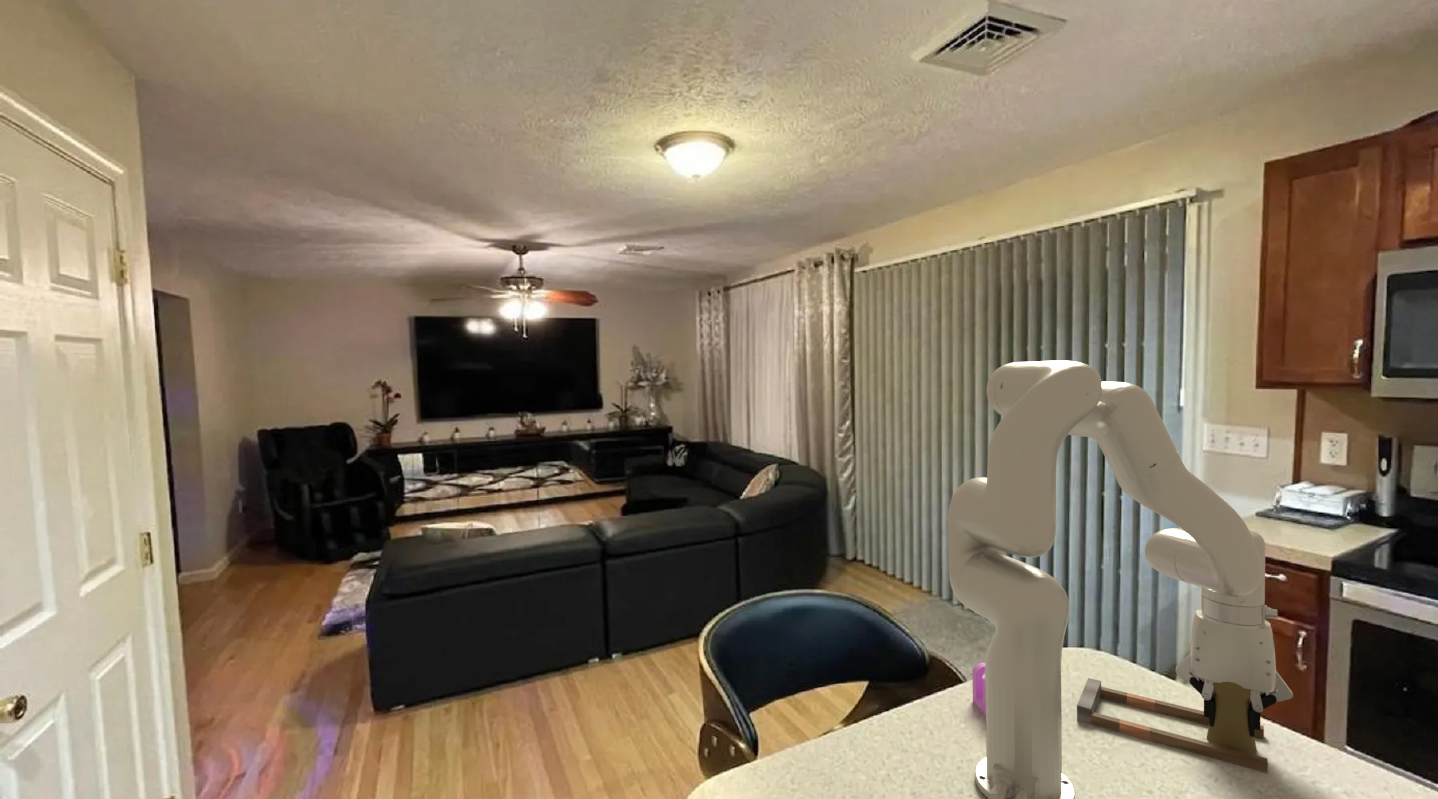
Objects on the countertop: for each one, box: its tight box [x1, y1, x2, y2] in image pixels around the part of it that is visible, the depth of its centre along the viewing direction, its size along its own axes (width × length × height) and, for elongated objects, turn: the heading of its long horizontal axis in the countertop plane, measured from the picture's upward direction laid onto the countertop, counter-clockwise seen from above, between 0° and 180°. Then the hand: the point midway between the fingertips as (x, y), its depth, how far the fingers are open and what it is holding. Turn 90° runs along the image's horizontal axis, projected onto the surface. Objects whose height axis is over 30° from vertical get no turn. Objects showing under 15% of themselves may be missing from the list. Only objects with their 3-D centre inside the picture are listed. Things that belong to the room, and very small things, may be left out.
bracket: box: [971, 662, 986, 718], centre depth 110 cm, size 13×6×7 cm, turn 91°
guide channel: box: [1076, 677, 1269, 773], centre depth 103 cm, size 11×24×2 cm, turn 52°
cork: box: [1206, 682, 1258, 755], centre depth 98 cm, size 6×6×11 cm
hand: (1231, 726), depth 98 cm, fingers closed on cork, 4 cm apart
